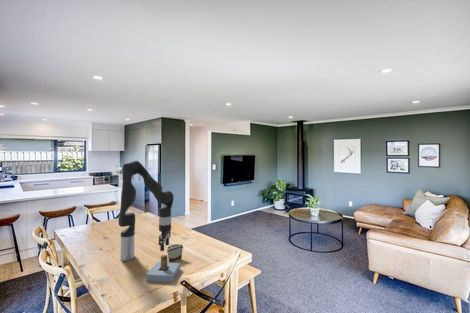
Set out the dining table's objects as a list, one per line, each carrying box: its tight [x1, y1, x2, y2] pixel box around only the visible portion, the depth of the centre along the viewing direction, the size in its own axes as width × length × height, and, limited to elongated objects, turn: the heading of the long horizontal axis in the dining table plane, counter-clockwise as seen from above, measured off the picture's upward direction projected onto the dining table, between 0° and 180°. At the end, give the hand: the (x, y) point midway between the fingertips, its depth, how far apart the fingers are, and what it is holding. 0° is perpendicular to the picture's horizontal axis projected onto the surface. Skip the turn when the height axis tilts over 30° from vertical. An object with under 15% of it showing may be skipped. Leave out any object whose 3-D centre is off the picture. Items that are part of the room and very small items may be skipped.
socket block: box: [145, 261, 181, 283], centre depth 148 cm, size 16×16×4 cm
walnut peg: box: [160, 254, 168, 271], centre depth 148 cm, size 4×4×12 cm
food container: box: [166, 243, 184, 263], centre depth 169 cm, size 12×6×10 cm, turn 131°
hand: (164, 247), depth 148 cm, fingers open, 8 cm apart
